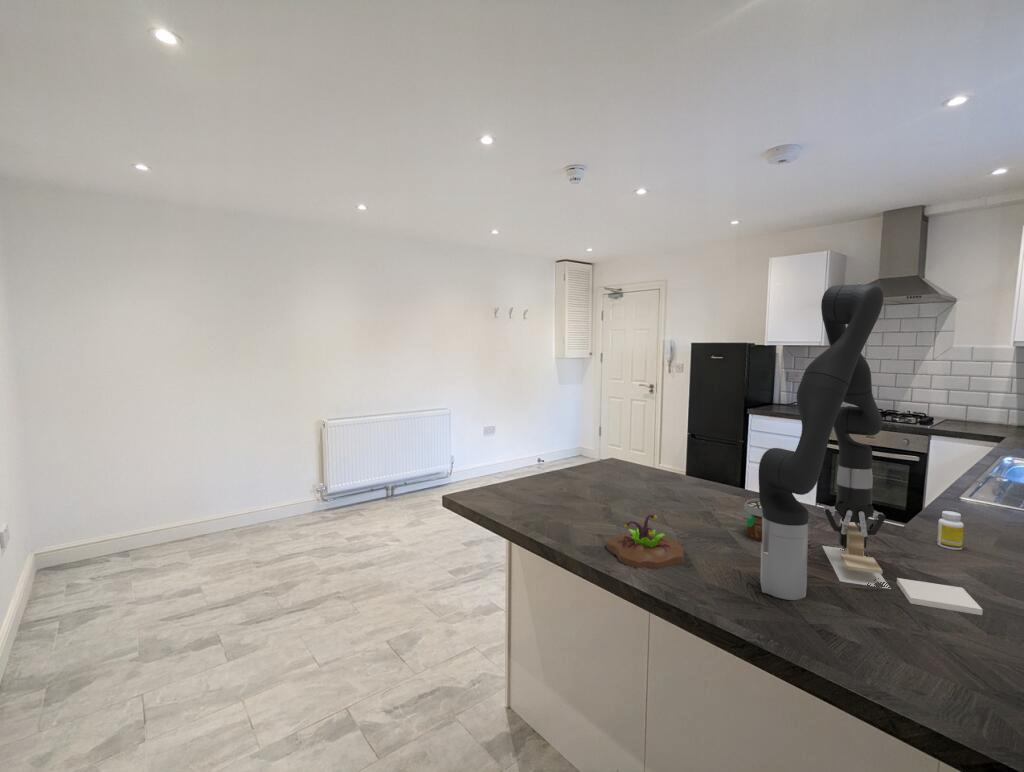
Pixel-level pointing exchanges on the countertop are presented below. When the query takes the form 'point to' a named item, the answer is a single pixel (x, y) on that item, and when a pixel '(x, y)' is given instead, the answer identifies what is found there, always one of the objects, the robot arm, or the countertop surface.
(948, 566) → the countertop surface
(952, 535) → the supplement bottle
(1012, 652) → the countertop surface
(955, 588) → the tile
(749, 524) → the food container
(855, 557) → the turner
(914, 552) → the countertop surface
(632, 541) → the toy plant on soil
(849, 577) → the mat
